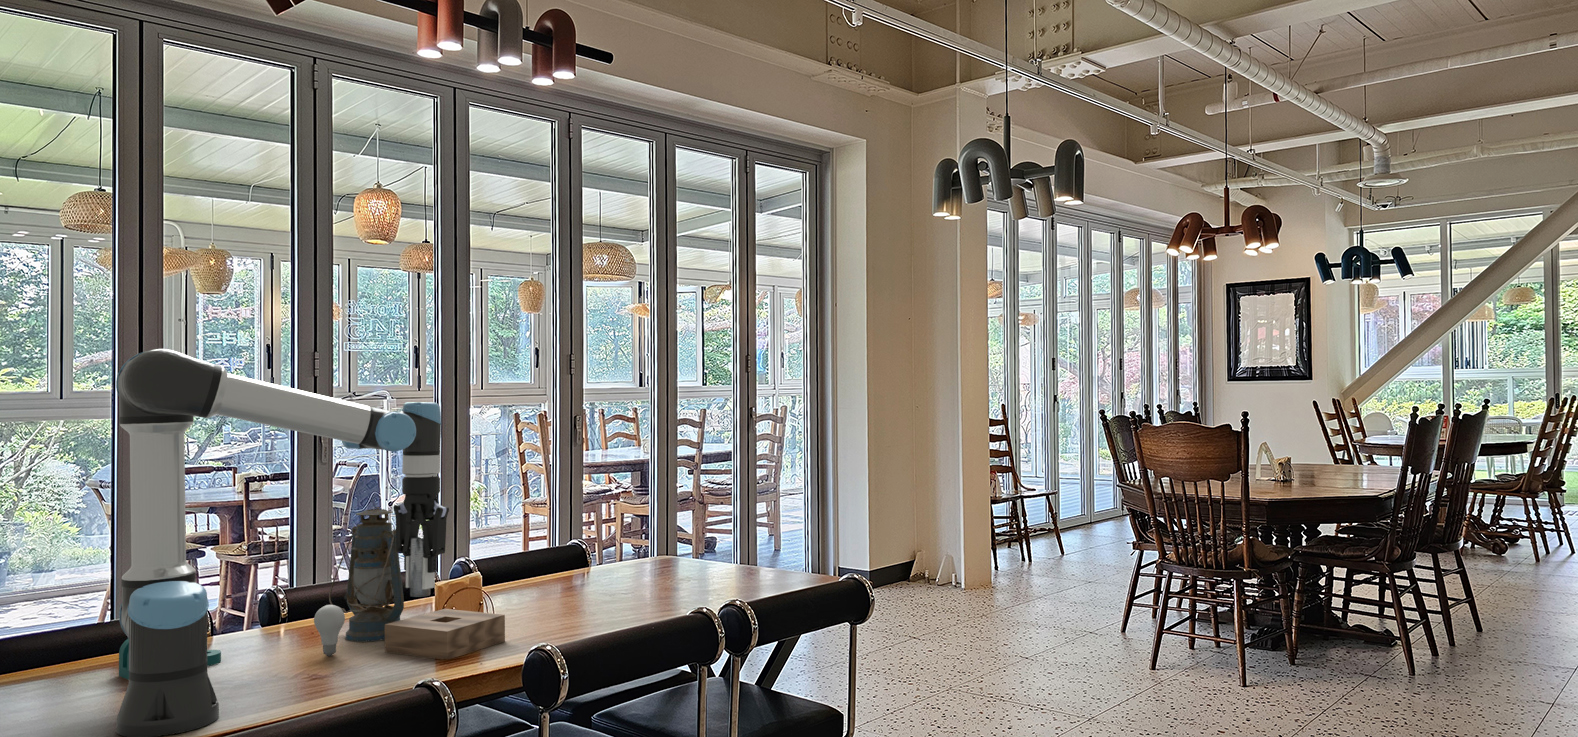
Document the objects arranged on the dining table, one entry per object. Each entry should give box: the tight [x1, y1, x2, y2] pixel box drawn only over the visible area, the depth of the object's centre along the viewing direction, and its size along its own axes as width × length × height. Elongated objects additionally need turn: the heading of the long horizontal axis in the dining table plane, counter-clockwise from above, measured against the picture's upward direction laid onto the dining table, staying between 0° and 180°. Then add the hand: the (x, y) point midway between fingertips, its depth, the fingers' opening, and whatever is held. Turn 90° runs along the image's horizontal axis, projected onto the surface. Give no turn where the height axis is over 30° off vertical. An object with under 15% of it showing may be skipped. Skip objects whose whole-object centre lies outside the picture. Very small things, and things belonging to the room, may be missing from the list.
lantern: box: [328, 506, 405, 643], centre depth 244 cm, size 19×14×30 cm
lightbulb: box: [313, 604, 346, 657], centre depth 225 cm, size 6×6×11 cm
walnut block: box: [384, 608, 506, 660], centre depth 232 cm, size 18×18×6 cm
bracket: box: [118, 637, 222, 681], centre depth 216 cm, size 18×7×8 cm, turn 141°
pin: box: [409, 535, 431, 598], centre depth 218 cm, size 4×4×12 cm
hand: (420, 587), depth 218 cm, fingers closed on pin, 4 cm apart
